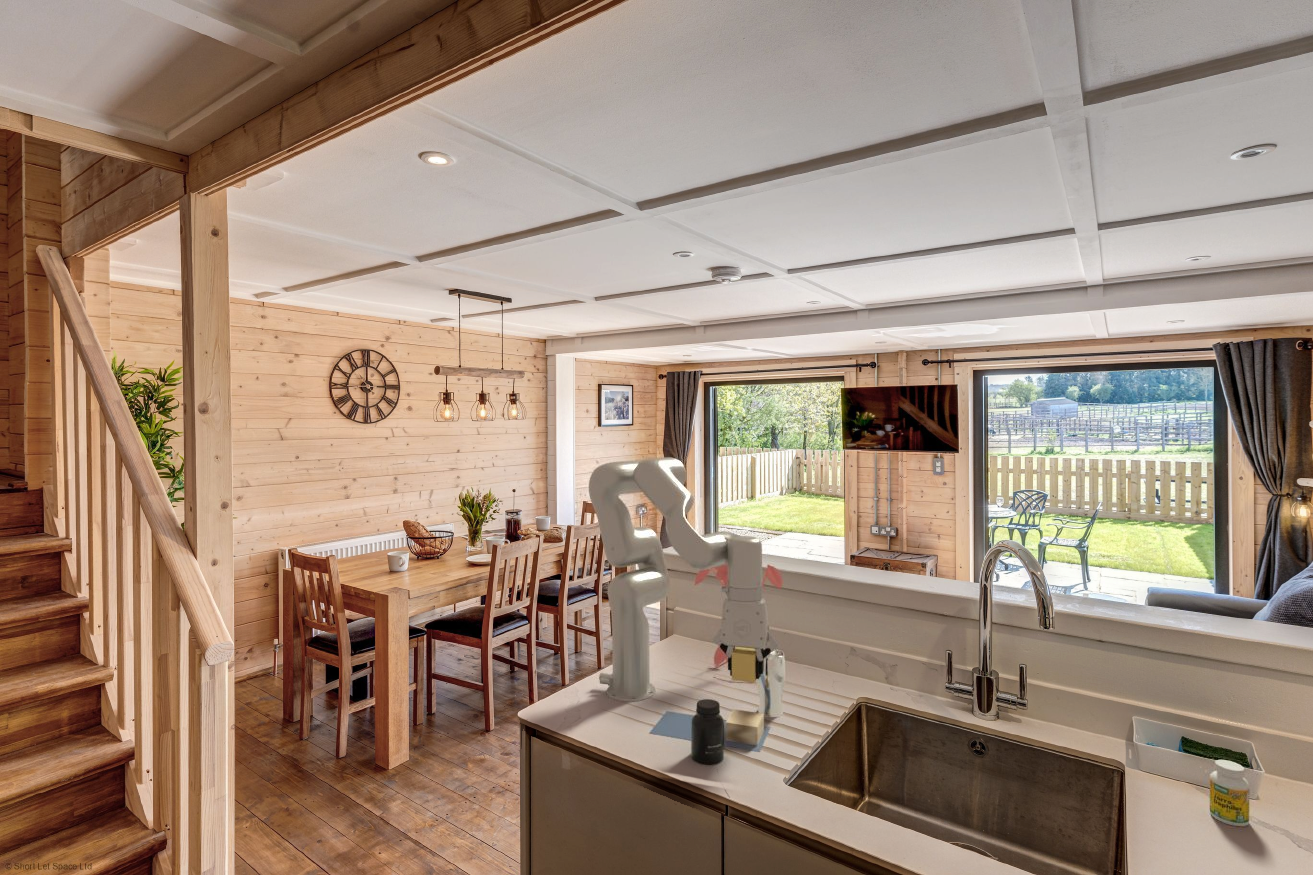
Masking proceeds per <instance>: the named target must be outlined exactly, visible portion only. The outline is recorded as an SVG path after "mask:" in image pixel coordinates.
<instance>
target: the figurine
mask: <svg viewBox="0 0 1313 875" xmlns="http://www.w3.org/2000/svg"><path fill="white" fill-rule="evenodd" d="M710 570H712V572H713V573H714V575H715V578H716V579H717V580H718V581H720V583H721V585H722V586H724V587H725V586H727V585H728V564H727V565H722V566H717V567H714V568H710V569H706V570H698V572H697V574H696V576H695V580H694V586H696V585H699V584H700V583H701V582H703V581H704V580H705V578H708V577H707V576H708V575H709V574H710V572H711V571H710ZM716 570H717V571H716ZM766 579H767V580H768V581H769V582H770V583H771V584H772V585H773V586H774V587H777V588H779V589H782V585H783V578H782V574H781V572H780V571H779V570H778V568H776V567H775V566H773V565H770V564H767V565H766V569H765V573H764V578H763V579H762V588H764V585H765V582H766ZM708 658H709V656H707V657H706V659H708ZM725 661H726V663H728V657H727V656H726V654H725V653H724V652H723V651H722V649H721V648H720V647H719V646H717V648H716V650H715V651H714V656H713V664H714V667H715V668H716V667H718V666H720V665H722V664H723V663H724V662H725ZM713 678H715V679H717V680H720V681H725V682H727V680H726V679H722V678H718V677H716V676H713ZM728 683H735V684H736V683H737V684H753V683H752V682H744V681H733V680H728Z"/></svg>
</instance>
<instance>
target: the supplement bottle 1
mask: <svg viewBox="0 0 1313 875" xmlns="http://www.w3.org/2000/svg"><path fill="white" fill-rule="evenodd" d="M720 710H721V708H720V702H718V701H717V700H715V699H711V698H710V699H709V698H708V699H707V698H705V699H700V700H698V701H697V702H696V708H695V714H693V715H694V716H693V718H692V727H691V740H690V743H691V746H690V747H691V748H690V749H691V750H690V751H691V752H690V753H691V754H690V757H691V758H690V759H691V760H692V761H693V762H695V763H696V764H699V765H702V766H704V765H705V766H715V765H718V764H720V763H722V762H723V760H724V758H725V746H724V720H725V719H724V718H723V716H722V715H721V714H720V713H721V711H720Z"/></svg>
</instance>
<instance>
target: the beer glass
mask: <svg viewBox="0 0 1313 875" xmlns="http://www.w3.org/2000/svg"><path fill="white" fill-rule="evenodd" d="M785 681H786V659H785V652H784V651H783V650H780V649H778V648H777V649H775V650H774V651H773V652H771V653H770V654H769V655H768V656H766V657H765V658H764V672H763V674H761V676H760V678H759V679H756V686H757V689H758V690H757V691H758V699H759V700H758V702H759V703H758V709H757V713H763V714H764V717H766V718H778V717H781V716H782V715H784V710H783V701H782V700H783V699H782V698H783V692H784V686H785Z"/></svg>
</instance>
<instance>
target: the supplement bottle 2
mask: <svg viewBox="0 0 1313 875" xmlns="http://www.w3.org/2000/svg"><path fill="white" fill-rule="evenodd" d="M1214 769H1215V770H1213V771H1212V772H1211V773H1210V775H1209V814H1210V815H1211V816H1212V817H1213V818H1214V819H1215V820H1217V821H1219V822H1222V823H1223V824H1226V825H1229V826H1234V827H1246V826H1248V825H1249V823H1250V789H1251V788H1250V783H1249V782H1248V780H1247V779H1246V778H1245V775H1246V774H1245V767H1244V766H1242V765H1241V764H1240V763H1237V762H1234V761H1231V760H1226V759H1218V760H1215V761H1214Z"/></svg>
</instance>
